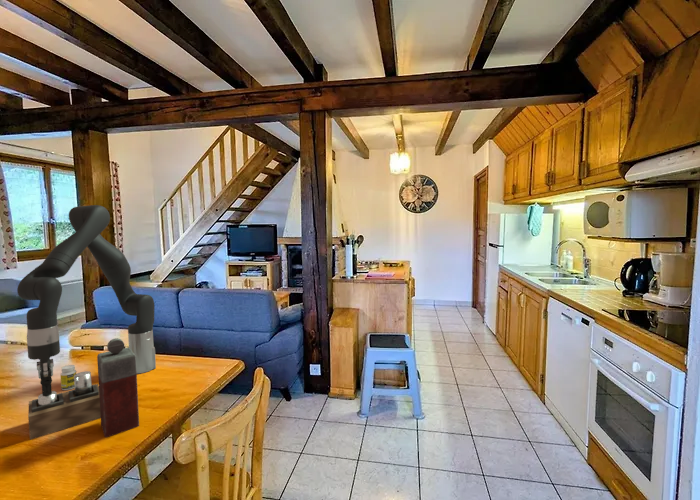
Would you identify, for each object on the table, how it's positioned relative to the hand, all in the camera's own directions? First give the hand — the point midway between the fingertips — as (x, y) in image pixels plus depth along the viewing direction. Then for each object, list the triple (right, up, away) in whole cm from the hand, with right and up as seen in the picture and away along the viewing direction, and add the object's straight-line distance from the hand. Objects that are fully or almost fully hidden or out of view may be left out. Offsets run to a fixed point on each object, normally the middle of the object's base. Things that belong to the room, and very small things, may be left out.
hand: (47, 394), depth 109 cm
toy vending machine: (+22, -10, +1) cm, 24 cm away
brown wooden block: (+3, -10, +4) cm, 11 cm away
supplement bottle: (-14, -8, +26) cm, 31 cm away
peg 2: (+7, -2, +6) cm, 10 cm away
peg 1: (0, -7, +1) cm, 7 cm away
